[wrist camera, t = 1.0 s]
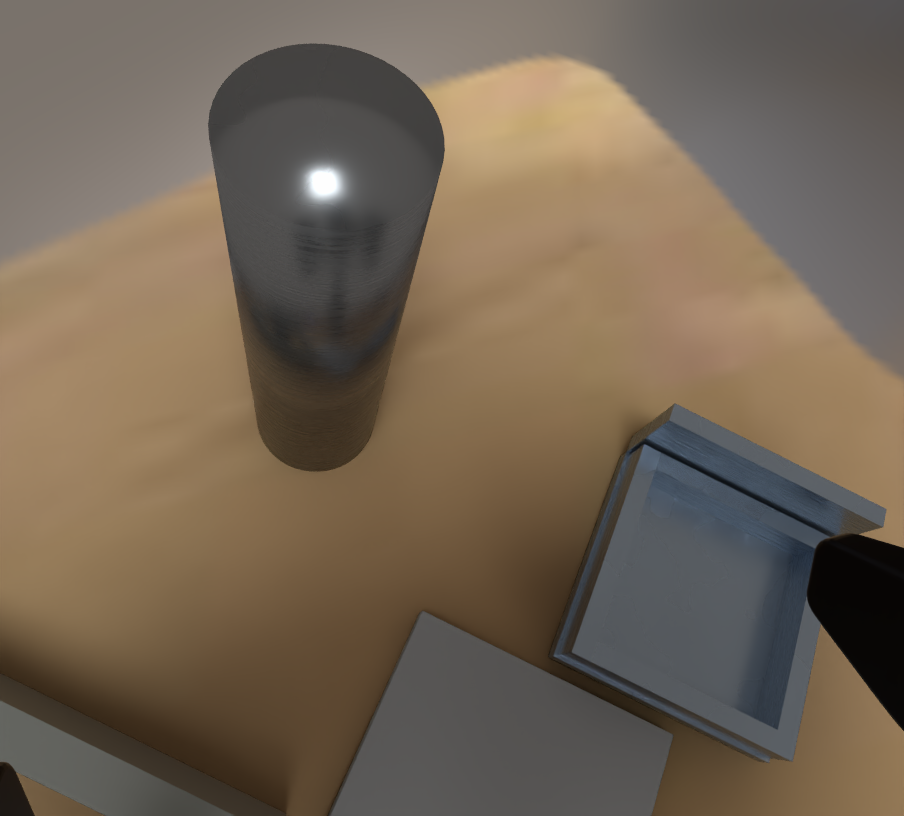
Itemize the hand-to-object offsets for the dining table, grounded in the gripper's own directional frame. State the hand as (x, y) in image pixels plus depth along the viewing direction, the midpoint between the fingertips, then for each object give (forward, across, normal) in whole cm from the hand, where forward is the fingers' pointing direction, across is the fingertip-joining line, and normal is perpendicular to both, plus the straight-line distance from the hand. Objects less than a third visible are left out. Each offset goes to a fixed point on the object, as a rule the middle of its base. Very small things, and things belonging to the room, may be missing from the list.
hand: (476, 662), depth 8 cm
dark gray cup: (+15, 0, +4) cm, 16 cm away
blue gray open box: (+9, -10, +10) cm, 17 cm away
